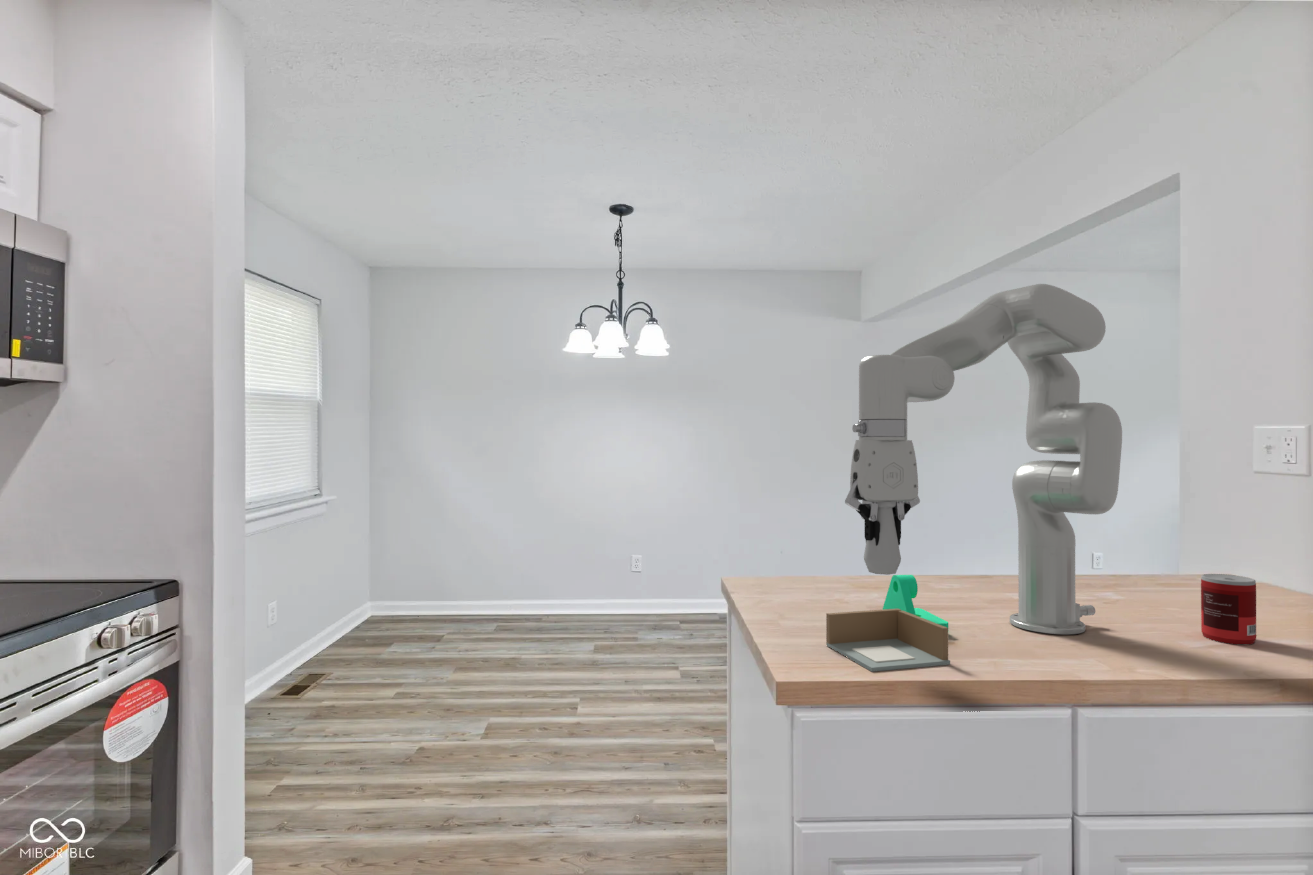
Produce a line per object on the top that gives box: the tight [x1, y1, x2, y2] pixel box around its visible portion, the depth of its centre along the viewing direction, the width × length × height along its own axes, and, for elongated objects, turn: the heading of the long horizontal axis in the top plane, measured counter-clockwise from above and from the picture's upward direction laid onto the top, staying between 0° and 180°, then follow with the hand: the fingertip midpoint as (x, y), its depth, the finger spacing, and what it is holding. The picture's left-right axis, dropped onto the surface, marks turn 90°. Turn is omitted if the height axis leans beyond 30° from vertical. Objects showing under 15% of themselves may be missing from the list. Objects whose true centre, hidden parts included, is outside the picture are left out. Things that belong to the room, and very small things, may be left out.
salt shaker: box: [863, 502, 902, 576], centre depth 113 cm, size 6×6×13 cm
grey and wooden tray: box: [825, 608, 951, 672], centre depth 115 cm, size 14×14×6 cm
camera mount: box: [882, 574, 949, 629], centre depth 131 cm, size 12×8×10 cm, turn 5°
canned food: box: [1200, 573, 1257, 645], centre depth 125 cm, size 8×8×11 cm
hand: (882, 543), depth 113 cm, fingers closed on salt shaker, 3 cm apart
